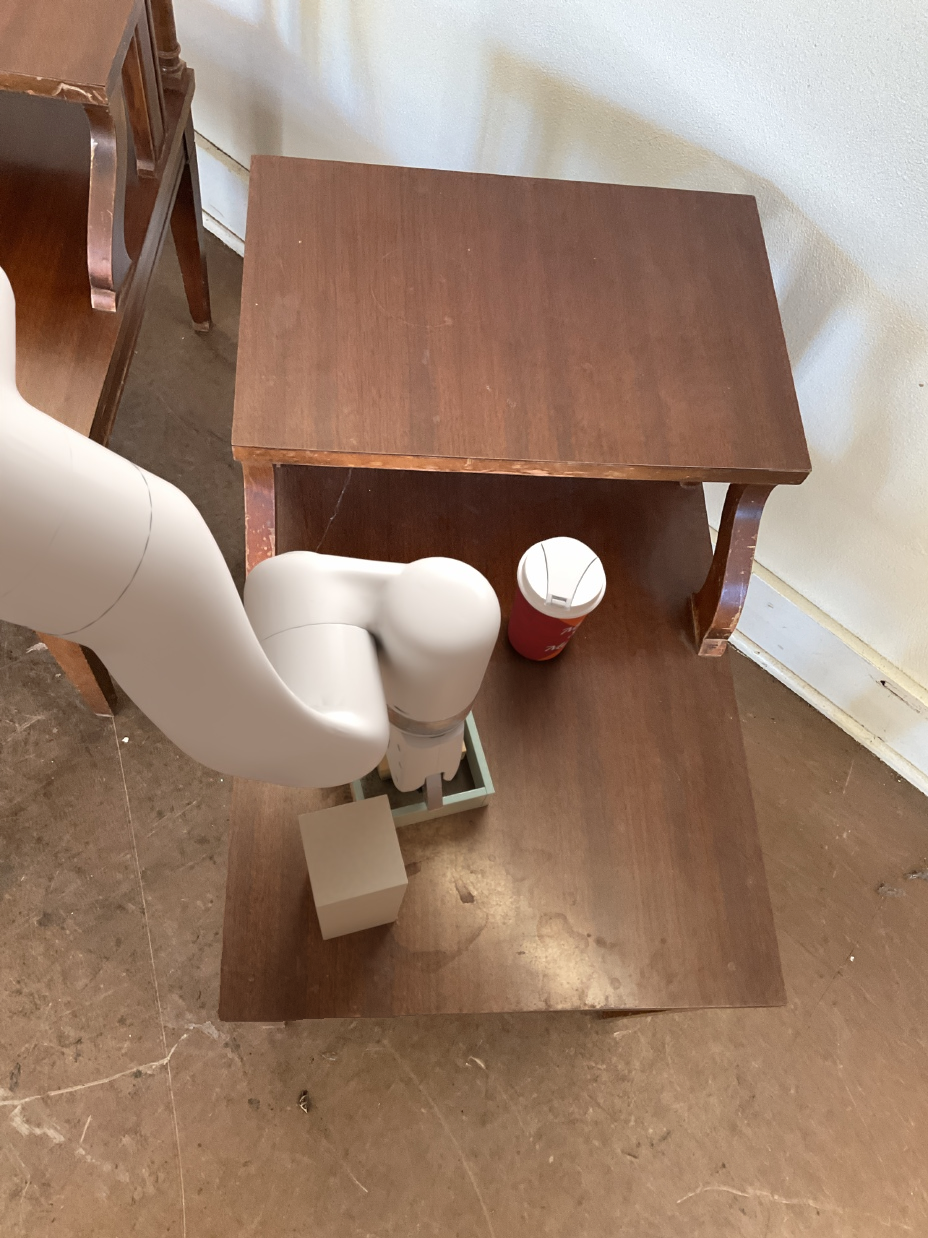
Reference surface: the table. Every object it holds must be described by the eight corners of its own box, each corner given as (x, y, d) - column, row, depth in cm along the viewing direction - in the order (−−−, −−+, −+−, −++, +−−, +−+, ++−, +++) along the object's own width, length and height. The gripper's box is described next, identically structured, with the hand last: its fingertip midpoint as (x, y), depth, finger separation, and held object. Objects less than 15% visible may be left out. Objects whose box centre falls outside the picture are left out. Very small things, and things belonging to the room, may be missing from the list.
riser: (323, 942, 75) (315, 907, 57) (309, 870, 77) (297, 815, 59) (394, 923, 76) (408, 883, 58) (378, 853, 79) (386, 793, 61)
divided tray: (361, 840, 79) (361, 825, 74) (310, 615, 88) (308, 588, 83) (486, 808, 81) (495, 792, 76) (425, 593, 90) (429, 566, 85)
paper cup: (566, 683, 87) (602, 621, 75) (488, 664, 87) (511, 598, 75) (579, 613, 91) (616, 542, 78) (504, 594, 91) (529, 520, 78)
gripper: (348, 588, 67) (348, 680, 83) (401, 805, 60) (390, 859, 77) (446, 569, 68) (427, 663, 85) (509, 779, 62) (475, 837, 78)
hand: (410, 755), depth 80 cm, fingers closed on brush, 3 cm apart
